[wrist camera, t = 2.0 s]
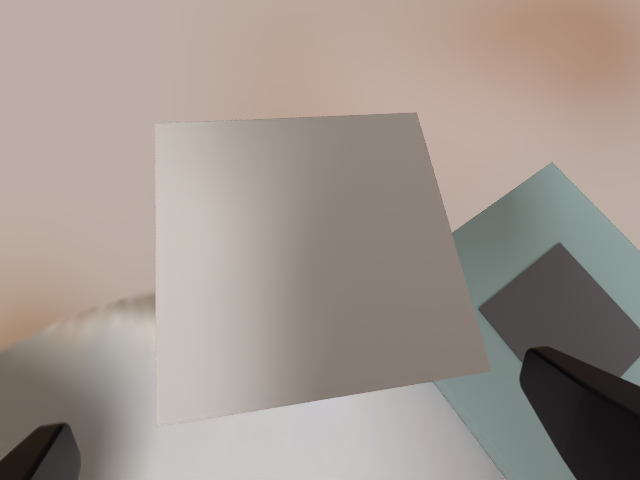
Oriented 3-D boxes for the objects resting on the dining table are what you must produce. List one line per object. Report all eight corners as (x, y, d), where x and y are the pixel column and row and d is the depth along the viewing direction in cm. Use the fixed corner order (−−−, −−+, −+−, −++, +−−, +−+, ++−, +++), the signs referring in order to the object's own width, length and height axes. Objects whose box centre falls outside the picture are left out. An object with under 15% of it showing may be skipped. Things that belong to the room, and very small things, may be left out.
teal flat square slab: (725, 363, 20) (750, 361, 19) (566, 559, 16) (587, 570, 15) (540, 171, 23) (553, 161, 22) (367, 294, 19) (373, 288, 18)
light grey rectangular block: (347, 391, 17) (491, 370, 6) (229, 410, 16) (156, 427, 5) (329, 280, 19) (416, 112, 8) (221, 292, 18) (154, 123, 7)
